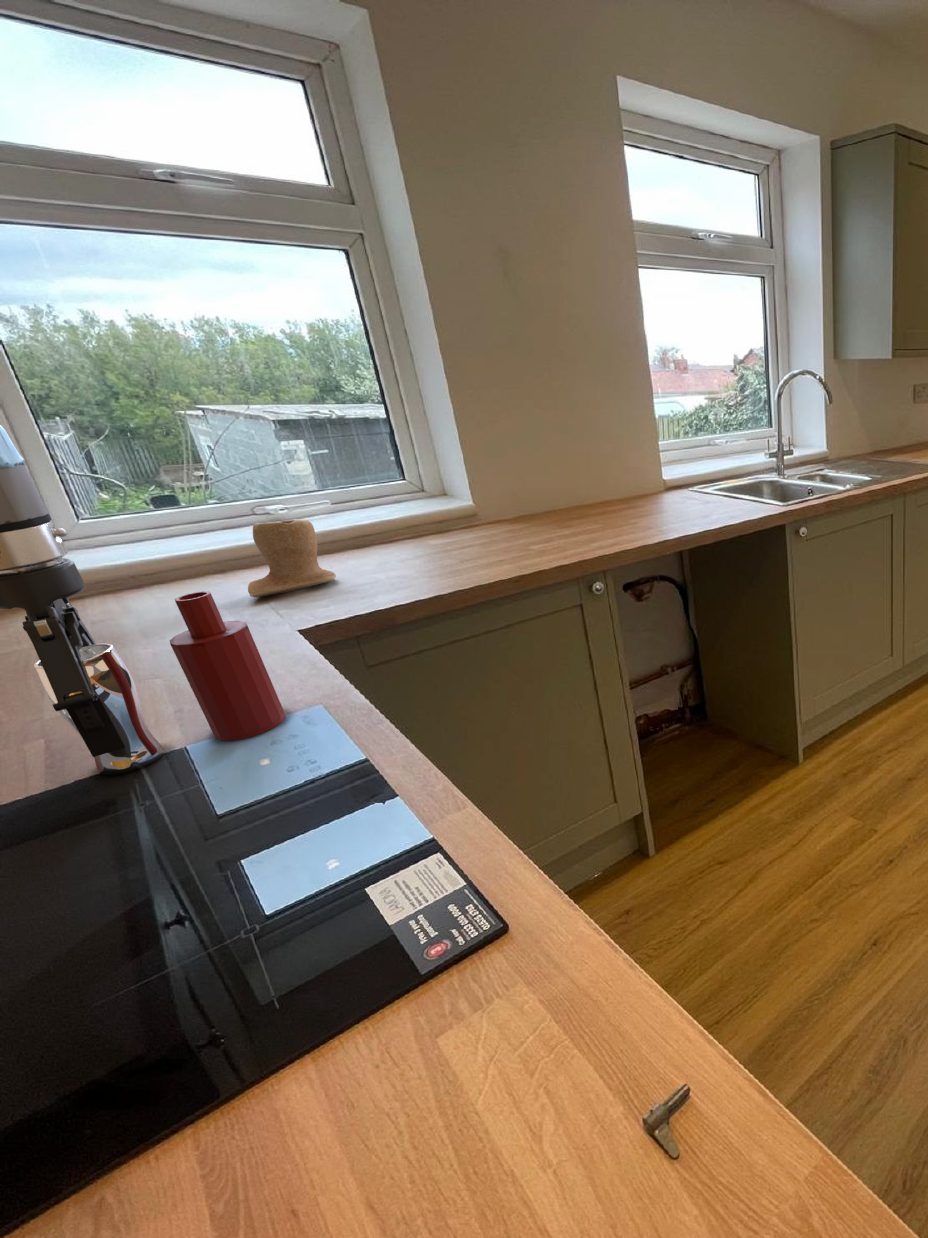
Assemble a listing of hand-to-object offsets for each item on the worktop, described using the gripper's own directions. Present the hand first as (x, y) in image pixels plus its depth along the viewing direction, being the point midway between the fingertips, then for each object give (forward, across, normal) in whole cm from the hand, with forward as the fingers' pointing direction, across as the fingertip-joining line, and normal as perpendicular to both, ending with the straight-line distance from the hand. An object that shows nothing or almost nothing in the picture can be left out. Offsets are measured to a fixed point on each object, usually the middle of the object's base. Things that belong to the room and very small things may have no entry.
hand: (111, 730), depth 83 cm
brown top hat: (+5, +68, -26) cm, 73 cm away
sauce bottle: (+5, -1, -12) cm, 13 cm away
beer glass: (+5, 0, 0) cm, 5 cm away
